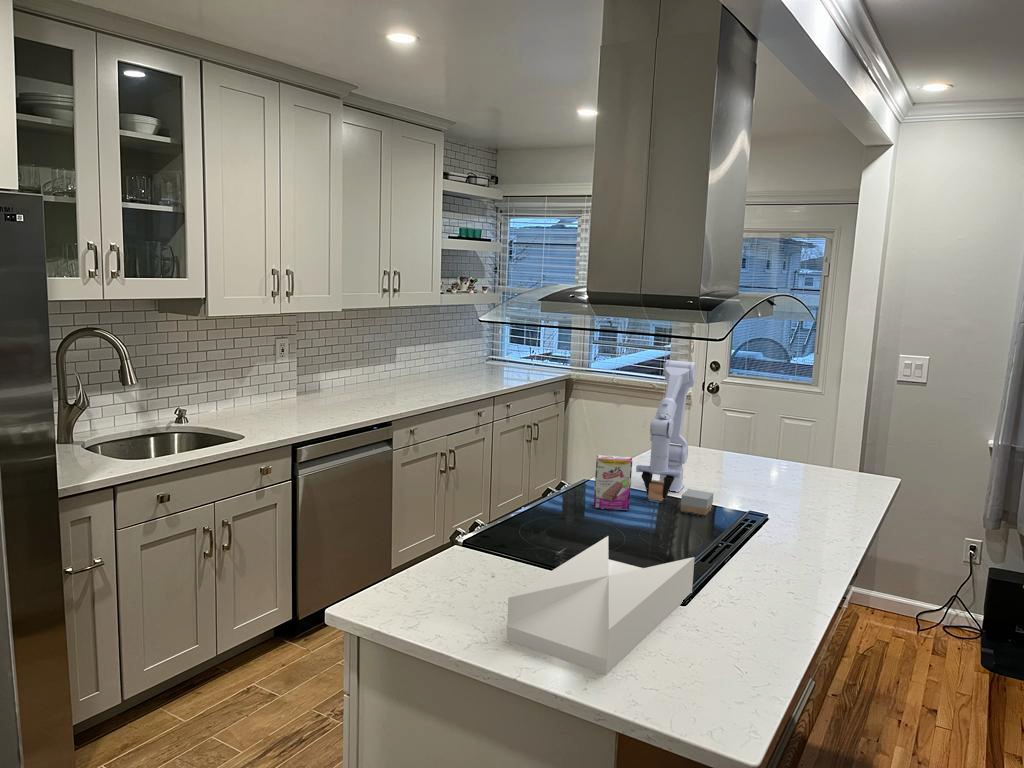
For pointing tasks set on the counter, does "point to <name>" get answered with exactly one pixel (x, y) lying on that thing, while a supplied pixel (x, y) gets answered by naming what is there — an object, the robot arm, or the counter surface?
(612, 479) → the candy bar box
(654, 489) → the terracotta block
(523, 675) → the counter surface
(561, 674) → the counter surface
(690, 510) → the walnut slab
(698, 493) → the slate slab
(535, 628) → the white zigzag wedge
